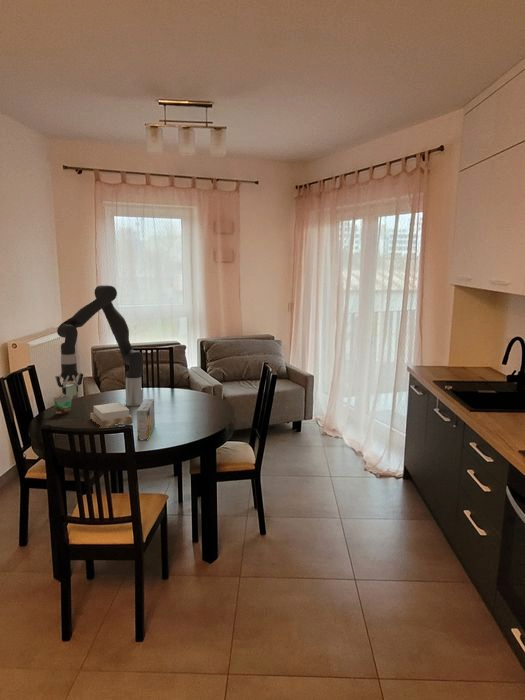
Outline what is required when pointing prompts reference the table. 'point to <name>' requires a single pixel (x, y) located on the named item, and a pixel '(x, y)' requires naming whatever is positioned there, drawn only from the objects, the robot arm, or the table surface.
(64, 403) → the food container
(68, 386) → the sage block
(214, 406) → the table surface
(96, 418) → the tower bottom slab
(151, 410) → the snack box
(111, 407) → the tower top slab
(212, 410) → the table surface
